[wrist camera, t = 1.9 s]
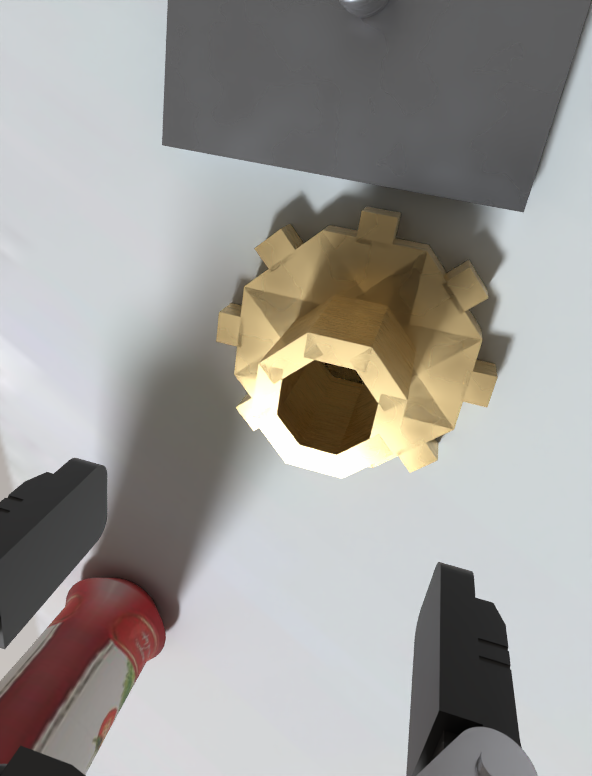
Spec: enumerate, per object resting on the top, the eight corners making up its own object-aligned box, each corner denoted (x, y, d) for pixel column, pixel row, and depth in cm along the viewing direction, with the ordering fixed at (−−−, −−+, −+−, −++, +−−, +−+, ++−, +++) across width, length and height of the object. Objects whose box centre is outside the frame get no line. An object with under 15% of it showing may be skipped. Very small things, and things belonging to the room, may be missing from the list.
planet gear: (537, 239, 21) (568, 276, 16) (452, 490, 27) (452, 586, 21) (243, 182, 23) (175, 197, 18) (218, 427, 29) (159, 499, 23)
